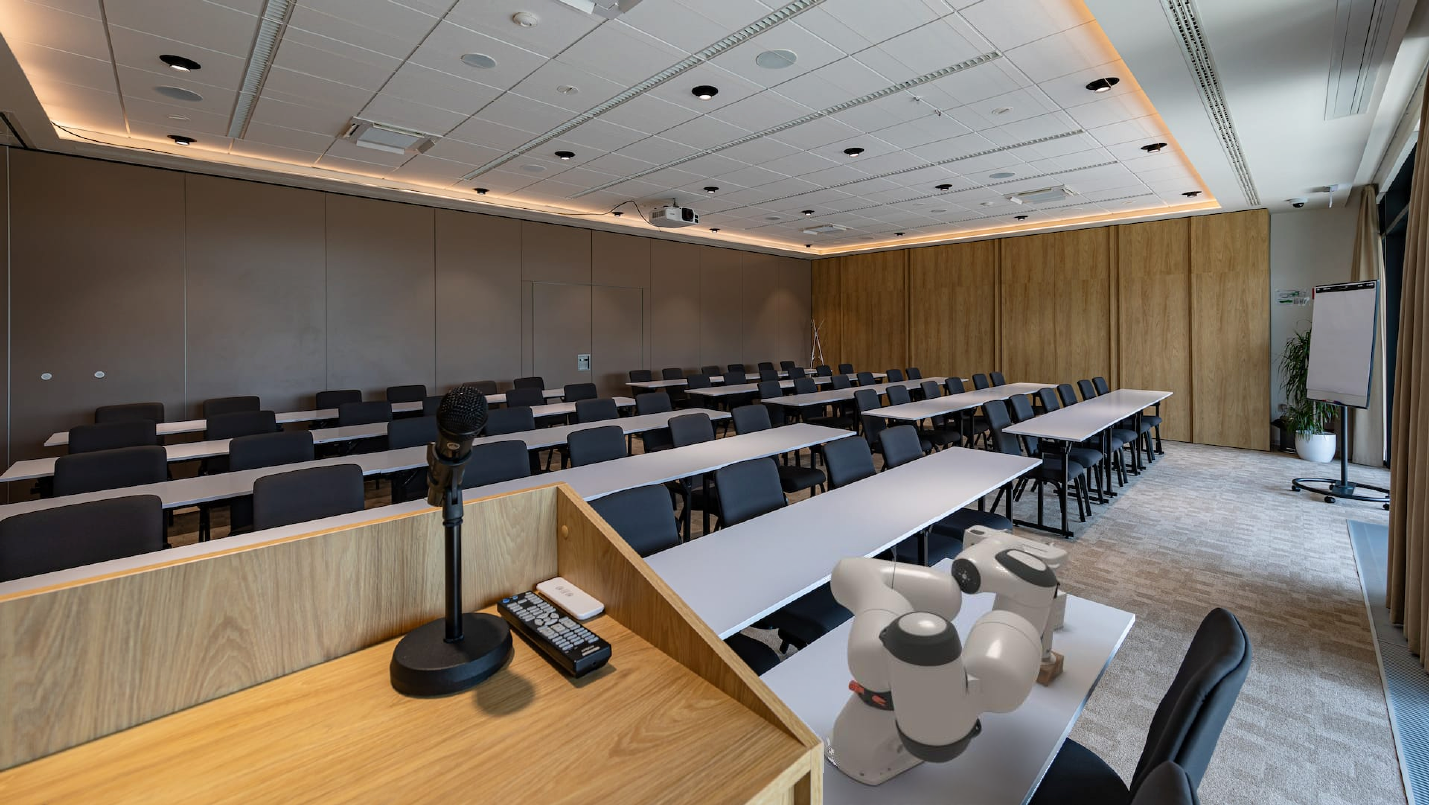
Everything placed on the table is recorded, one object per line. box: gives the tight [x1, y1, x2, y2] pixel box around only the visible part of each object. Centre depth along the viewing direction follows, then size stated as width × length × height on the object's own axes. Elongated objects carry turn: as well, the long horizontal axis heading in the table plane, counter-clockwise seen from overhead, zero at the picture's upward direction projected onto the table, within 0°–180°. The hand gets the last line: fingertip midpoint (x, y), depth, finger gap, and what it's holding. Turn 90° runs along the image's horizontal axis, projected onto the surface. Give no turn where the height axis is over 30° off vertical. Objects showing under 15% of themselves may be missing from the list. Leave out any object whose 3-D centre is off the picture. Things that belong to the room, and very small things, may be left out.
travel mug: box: [1041, 579, 1061, 662], centre depth 150 cm, size 6×7×20 cm
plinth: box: [1035, 650, 1065, 687], centre depth 153 cm, size 10×9×4 cm
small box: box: [1054, 589, 1068, 630], centre depth 175 cm, size 8×6×10 cm
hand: (1029, 539), depth 139 cm, fingers open, 8 cm apart
